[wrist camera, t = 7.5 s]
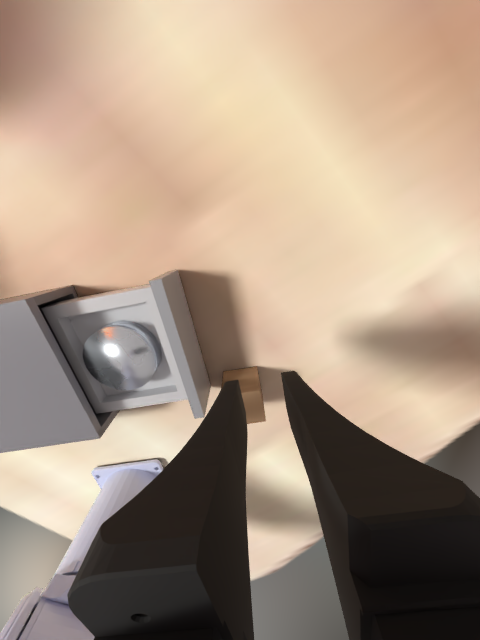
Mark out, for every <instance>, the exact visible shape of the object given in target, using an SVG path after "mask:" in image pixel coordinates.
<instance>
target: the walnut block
mask: <svg viewBox="0 0 480 640" xmlns="http://www.w3.org/2000/svg"><path fill="white" fill-rule="evenodd" d="M232 380H239V385H240V389H241V394H242V398H243V402H244V407H245V411H246V420H247V424H250V423H257V422H264V421H266V419H265V411H264V404H263V396H262V390H261V385H260V380H259V375H258V369H257V366H255V367H249V368H243V369H237V370H231V371H224V372H223V380H222V387H223V385H224V383H225V382H226V381H232ZM222 387H221V389H222Z"/></svg>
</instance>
